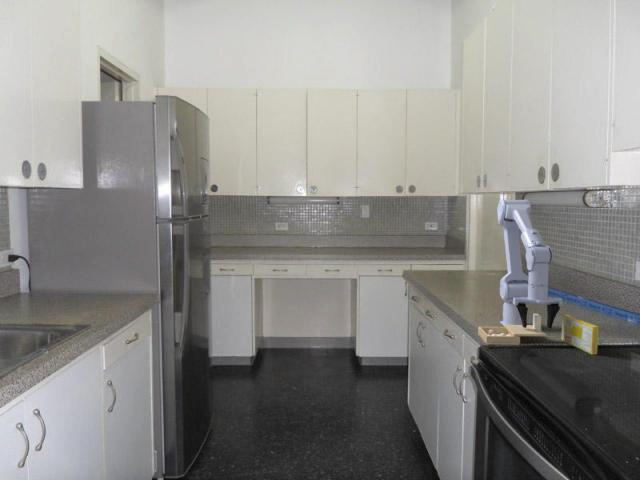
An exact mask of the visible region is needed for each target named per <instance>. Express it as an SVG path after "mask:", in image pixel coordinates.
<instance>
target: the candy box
mask: <svg viewBox="0 0 640 480" xmlns="http://www.w3.org/2000/svg"><path fill="white" fill-rule="evenodd" d="M561 326H562V327H561V339H562V340H561V341H563V340H564V341H563V342H565V341H566V342H565V343H567V344H569V345H571V346H572V347H575V348H577V349H579V350H582V352H586V353H587V354H590V355H591V356H594V355H598V346H599V334H600V333H599V332H600V329H599V326H597V325H595V324H592V323H590V322H587V321H584V320H582V319H579V318H577V317H574V316H572V315H569V314H562V323H561Z"/></svg>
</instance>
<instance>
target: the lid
mask: <svg viewBox="0 0 640 480" xmlns="http://www.w3.org/2000/svg"><path fill="white" fill-rule="evenodd" d="M503 327H505V328H506V329H507V330H508V331H509V332H510V333H511V334H513V335H514V336H520V337H547V333H545V332H544V331H543V330H542V316H541V315H540V314H538V313H533V314H532V324H527V327H526V328H524V327H523V326H522V325H504V326H503Z"/></svg>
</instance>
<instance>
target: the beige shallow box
mask: <svg viewBox="0 0 640 480" xmlns="http://www.w3.org/2000/svg"><path fill="white" fill-rule="evenodd" d="M477 331H478V332H477V335H478V336H479V337H480V339H482V342H484V344H485V345H488V346H489V345H491V346H492V345H493V346H494V345H495V346H521V336H514V335H513V334H511V333H510V332H509V331H508V330H507V329H506V328H505V327H504V326H478V329H477Z"/></svg>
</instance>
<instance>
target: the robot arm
mask: <svg viewBox="0 0 640 480" xmlns="http://www.w3.org/2000/svg"><path fill="white" fill-rule="evenodd" d="M531 209H532V204H531V202H530V201H529V200H528V199H500V200H499V202H498V204H497V210H496V212H497V213H496V214H497V221H498V225H499V226H501V227H502V229H503V239H504V248H505V249H504V250H505V258H506V269H507V273H506V274H505V275H504V276H503V277H502V278H500V281H499V284H500V285H499V294H500V297H501V299H502V301H504V303H503V305H502V320H501V321H500V320H499V323H500V324H501V325H502V327H504V325H522V326H523V327H524V328H526V327H527V325H528V319H527V318H528V311H529V308H528V305H535V306H536V305H542V306H543V305H544V306H545V305H546V311H547V313H546V314H547V319H546V327H547V328H549V329H552V328H553V324H554V321H555V318H556V317H557V315H558V313H559V311H561V310H560V309H561V306H563V298H561V297H548V295H549V293H548V292H549V265H550V264H551V263H552V261H553V258H554V257H553V255H554V254H553V250H552V247H551V246H550V245H548V244H547V243H545V242H544V241H543V238H542V236H541V233H540V232H539V230H538V229H536V228H534V227H533V224H532V220H531V217H530V214H531V211H532V210H531ZM519 229H520V231H521V234H520V235H519ZM520 240H521V242H522V243H523V246H524V250H525V261H526V269H527V270H528V275H527V274H525V273H524V271H523V262H522V253H521V244H520V243H521V242H520Z"/></svg>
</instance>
